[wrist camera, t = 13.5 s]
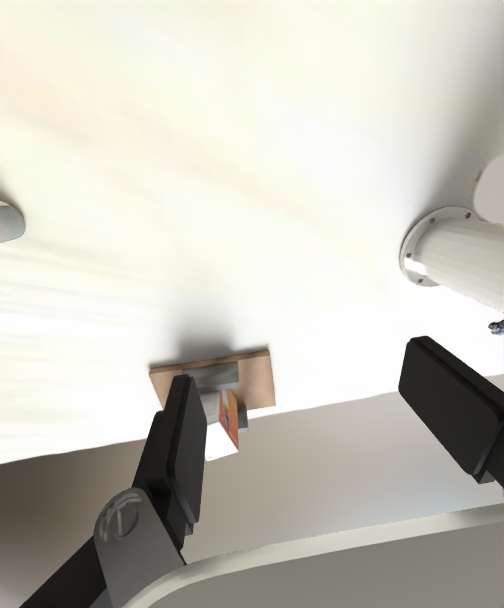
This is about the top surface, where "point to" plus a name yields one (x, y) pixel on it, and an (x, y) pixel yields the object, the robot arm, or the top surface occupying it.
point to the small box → (220, 423)
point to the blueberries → (497, 328)
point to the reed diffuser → (10, 223)
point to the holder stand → (225, 380)
